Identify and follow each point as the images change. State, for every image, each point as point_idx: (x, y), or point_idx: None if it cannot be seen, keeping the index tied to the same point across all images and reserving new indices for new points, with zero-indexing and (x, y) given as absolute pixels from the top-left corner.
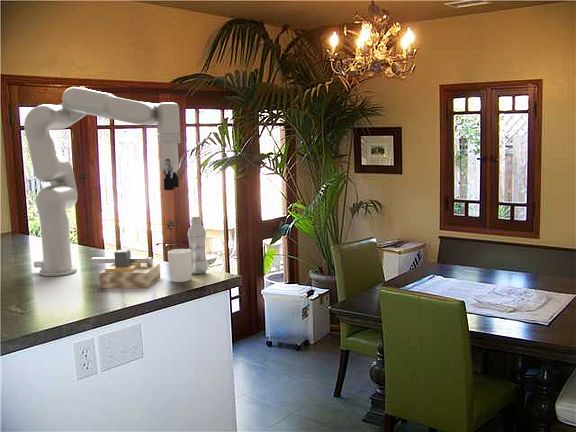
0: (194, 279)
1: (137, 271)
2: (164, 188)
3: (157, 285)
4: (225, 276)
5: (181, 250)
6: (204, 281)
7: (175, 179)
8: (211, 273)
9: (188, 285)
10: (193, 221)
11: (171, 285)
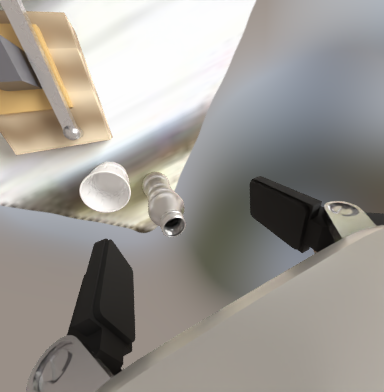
0: None
1: (14, 127)
2: (93, 249)
3: (60, 157)
4: (149, 218)
5: (127, 185)
6: None
7: (281, 230)
8: None
9: None
10: (161, 223)
11: (72, 179)
